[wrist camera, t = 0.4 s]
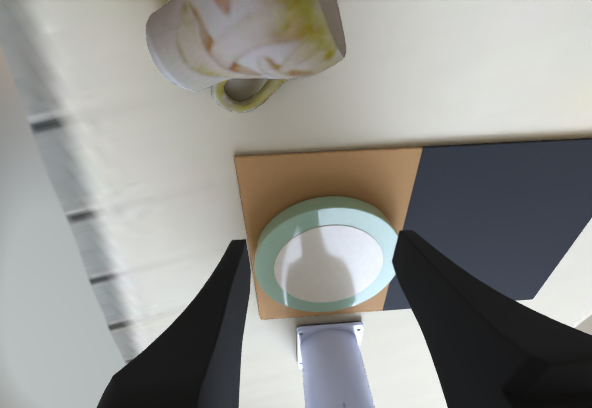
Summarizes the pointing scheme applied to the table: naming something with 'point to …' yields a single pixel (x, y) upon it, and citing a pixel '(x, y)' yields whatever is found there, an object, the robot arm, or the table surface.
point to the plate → (325, 254)
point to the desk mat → (440, 205)
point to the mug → (244, 43)
